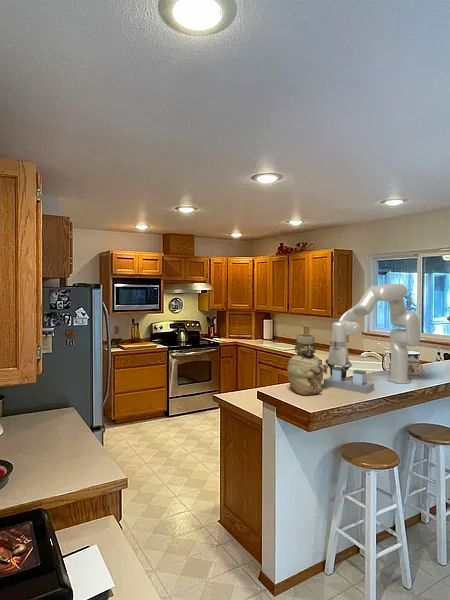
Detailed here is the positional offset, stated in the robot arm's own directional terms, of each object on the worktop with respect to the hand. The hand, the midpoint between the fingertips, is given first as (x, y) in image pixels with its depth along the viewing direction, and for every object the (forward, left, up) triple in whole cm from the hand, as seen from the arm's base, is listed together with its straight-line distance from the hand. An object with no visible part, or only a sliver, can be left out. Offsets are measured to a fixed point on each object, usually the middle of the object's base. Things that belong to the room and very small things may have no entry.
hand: (338, 376), depth 219 cm
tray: (-13, 0, -7) cm, 15 cm away
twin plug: (0, +12, -5) cm, 13 cm away
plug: (0, 0, -5) cm, 5 cm away
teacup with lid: (-69, +20, -7) cm, 72 cm away
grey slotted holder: (0, +6, -7) cm, 9 cm away
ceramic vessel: (+18, -10, -7) cm, 22 cm away
